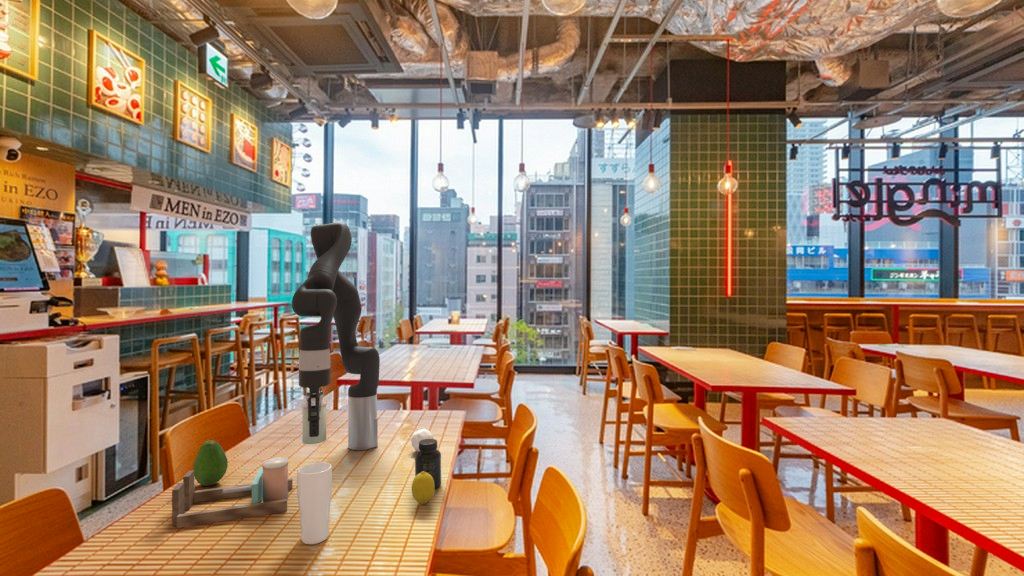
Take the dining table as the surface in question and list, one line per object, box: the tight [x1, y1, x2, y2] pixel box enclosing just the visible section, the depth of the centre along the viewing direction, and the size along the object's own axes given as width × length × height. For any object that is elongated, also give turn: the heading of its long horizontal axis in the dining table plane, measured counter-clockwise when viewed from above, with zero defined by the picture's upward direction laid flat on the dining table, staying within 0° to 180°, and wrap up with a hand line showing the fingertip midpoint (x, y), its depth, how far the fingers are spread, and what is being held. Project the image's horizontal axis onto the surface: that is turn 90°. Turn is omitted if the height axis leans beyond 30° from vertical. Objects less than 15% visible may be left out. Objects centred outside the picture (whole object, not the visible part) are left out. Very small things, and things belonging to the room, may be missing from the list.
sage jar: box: [301, 399, 328, 445], centre depth 120 cm, size 6×6×10 cm
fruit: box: [192, 439, 229, 487], centre depth 127 cm, size 8×8×12 cm
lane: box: [171, 469, 294, 529], centre depth 114 cm, size 23×14×8 cm, turn 110°
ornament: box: [410, 427, 434, 452], centre depth 152 cm, size 7×7×8 cm
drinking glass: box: [296, 461, 333, 545], centre depth 99 cm, size 7×7×15 cm
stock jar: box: [261, 456, 289, 503], centre depth 117 cm, size 6×6×10 cm
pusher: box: [222, 467, 263, 504], centre depth 114 cm, size 8×11×6 cm
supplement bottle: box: [414, 438, 442, 491], centre depth 125 cm, size 7×7×12 cm
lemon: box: [411, 471, 436, 505], centre depth 114 cm, size 6×6×8 cm
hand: (314, 432), depth 120 cm, fingers closed on sage jar, 5 cm apart
